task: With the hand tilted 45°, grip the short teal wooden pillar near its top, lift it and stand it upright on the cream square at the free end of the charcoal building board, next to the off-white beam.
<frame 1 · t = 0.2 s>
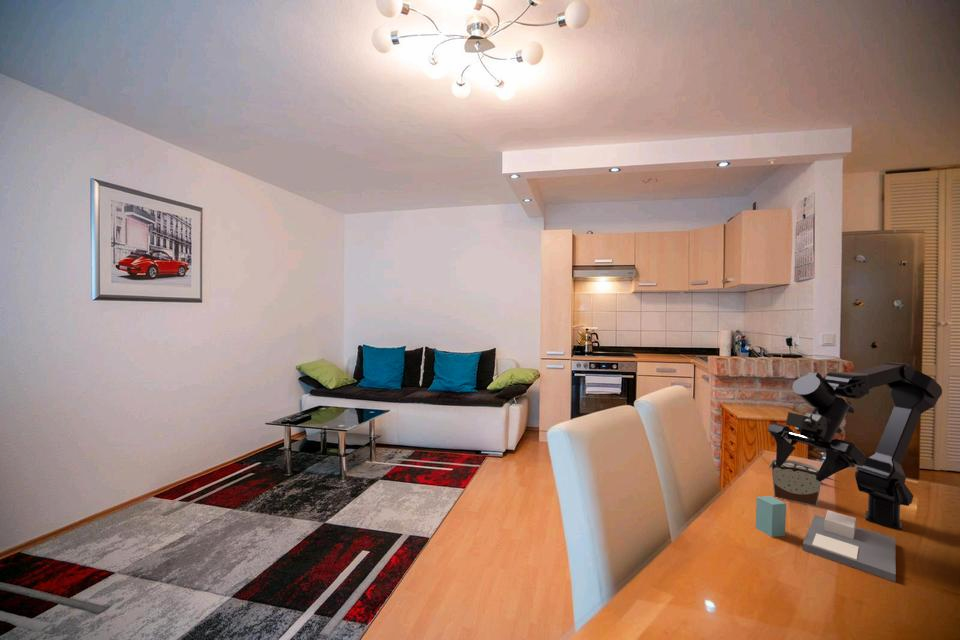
hand: (796, 472, 94), 14 cm above the table, tool tilted 35°, fingers open, 9 cm apart
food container: (793, 498, 114), on the table
pillar: (770, 531, 94), on the table
toy airplane: (804, 480, 128), on the table
building board: (849, 547, 88), on the table
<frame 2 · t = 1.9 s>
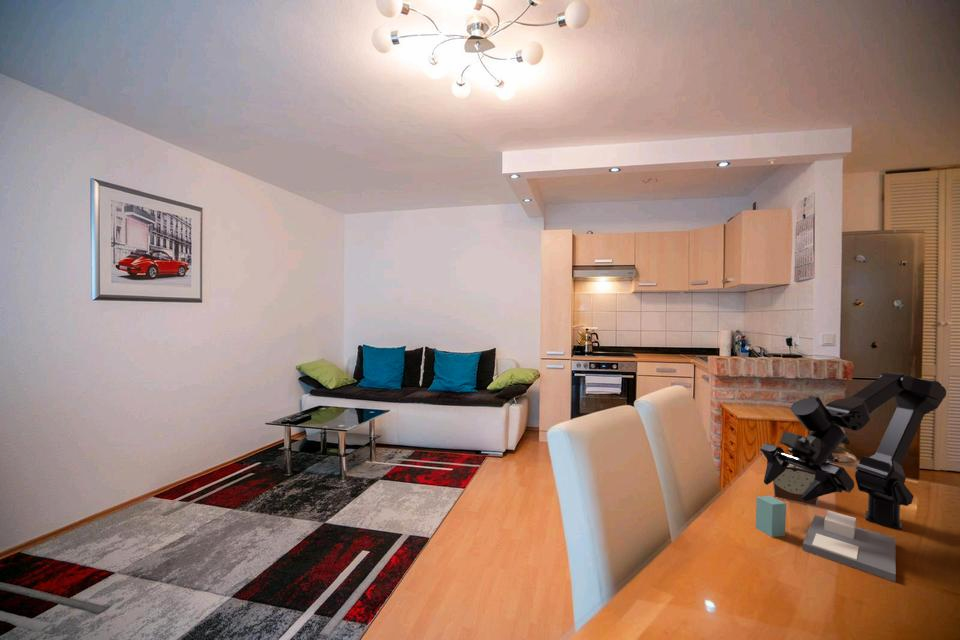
hand: (783, 491, 95), 9 cm above the table, tool tilted 45°, fingers open, 9 cm apart
nothing on the table moved.
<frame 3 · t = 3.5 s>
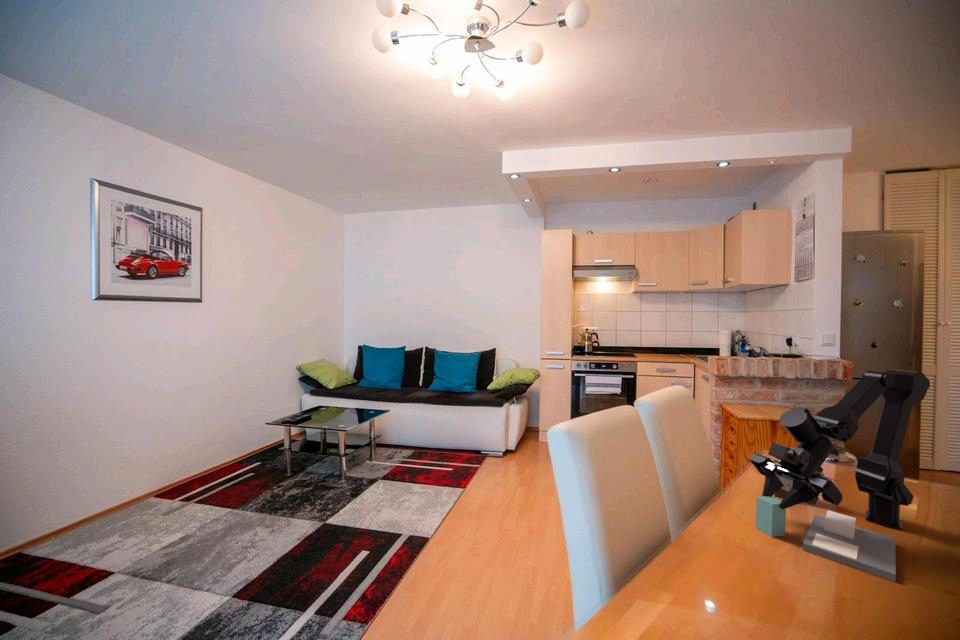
hand: (771, 503, 94), 7 cm above the table, tool tilted 45°, fingers closed on pillar, 4 cm apart
pillar: (770, 531, 94), on the table, touching gripper
everything else where it was.
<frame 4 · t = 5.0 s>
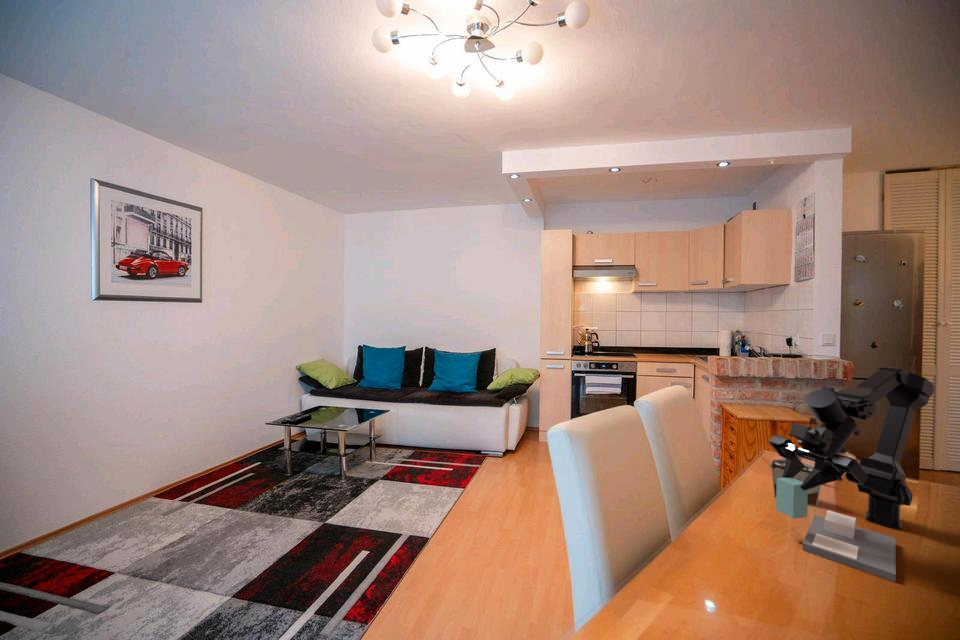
hand: (792, 484, 91), 12 cm above the table, tool tilted 45°, fingers closed on pillar, 4 cm apart
pillar: (791, 513, 91), point 6 cm above the table, touching gripper
everything else where it was.
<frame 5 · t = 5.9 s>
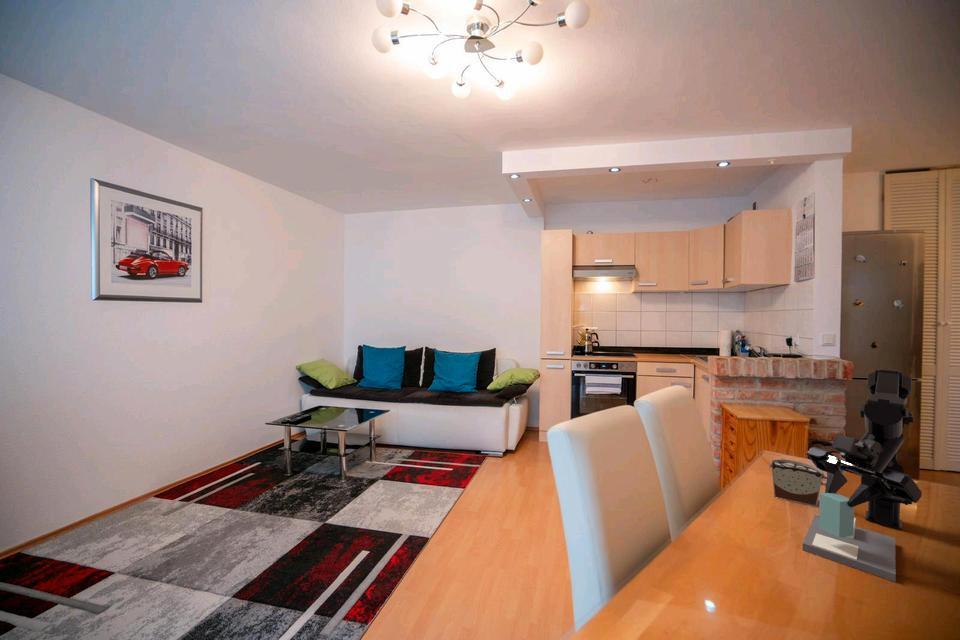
hand: (837, 501, 86), 11 cm above the table, tool tilted 45°, fingers closed on pillar, 4 cm apart
pillar: (835, 531, 86), point 5 cm above the table, touching gripper
everything else where it was.
when the fingers open (9 cm above the table, at t = 6.6 s): pillar stays where it is, resting on building board.
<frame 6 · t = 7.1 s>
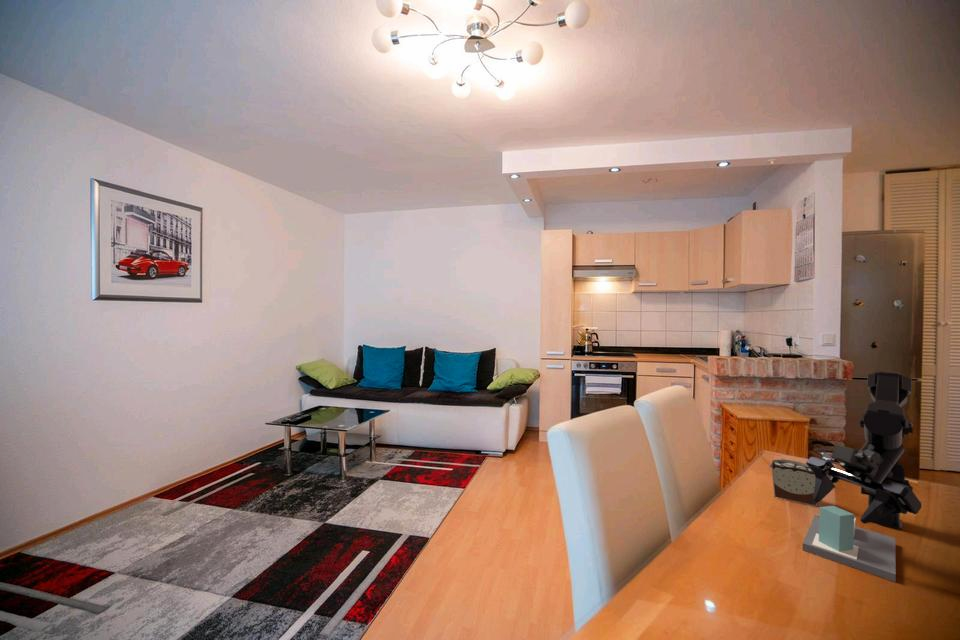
hand: (837, 511, 86), 9 cm above the table, tool tilted 45°, fingers open, 9 cm apart
pillar: (835, 545, 86), point 2 cm above the table, touching building board
everything else where it was.
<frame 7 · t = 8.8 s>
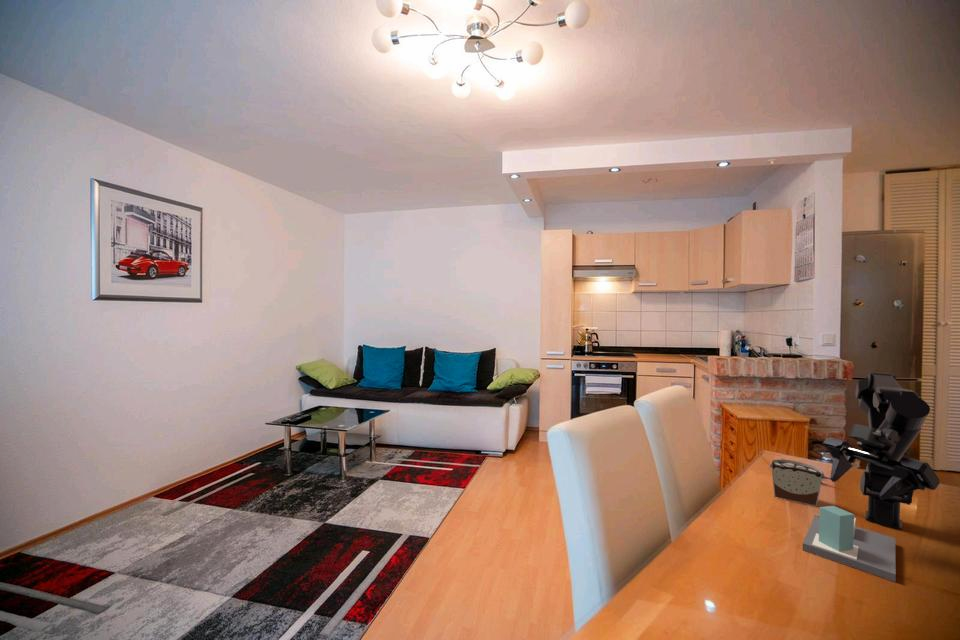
hand: (855, 489, 87), 14 cm above the table, tool tilted 45°, fingers open, 9 cm apart
nothing on the table moved.
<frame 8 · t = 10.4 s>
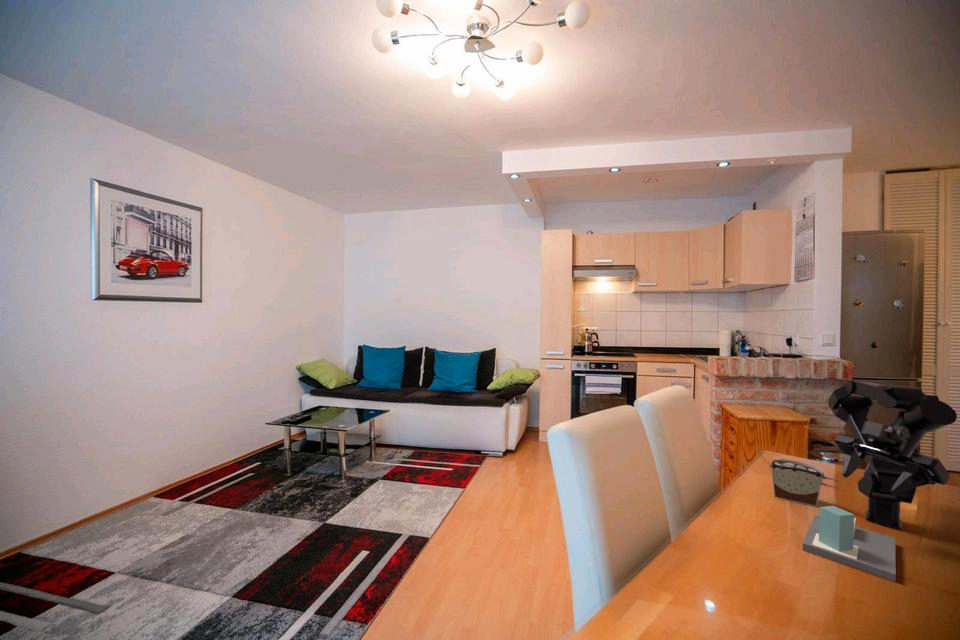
hand: (867, 484, 90), 14 cm above the table, tool tilted 45°, fingers open, 9 cm apart
nothing on the table moved.
at the end: pillar 0.1 cm from the target spot, point 1.7 cm above the table; pillar tilted 0°; the gripper is holding nothing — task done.
